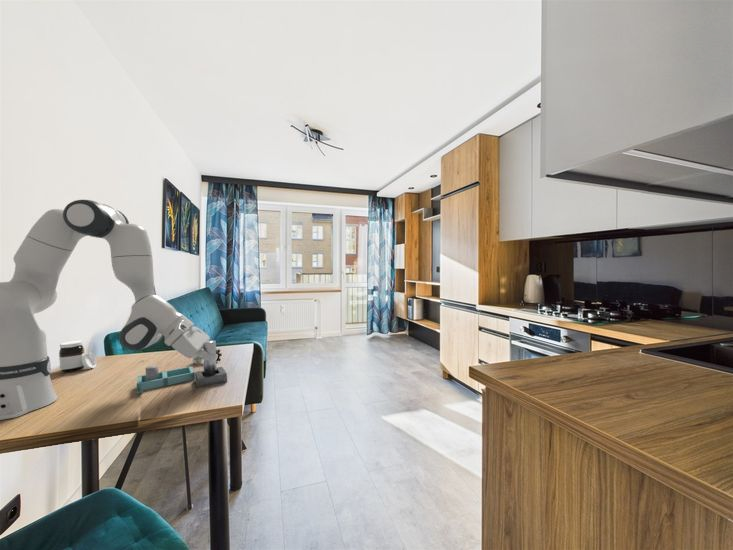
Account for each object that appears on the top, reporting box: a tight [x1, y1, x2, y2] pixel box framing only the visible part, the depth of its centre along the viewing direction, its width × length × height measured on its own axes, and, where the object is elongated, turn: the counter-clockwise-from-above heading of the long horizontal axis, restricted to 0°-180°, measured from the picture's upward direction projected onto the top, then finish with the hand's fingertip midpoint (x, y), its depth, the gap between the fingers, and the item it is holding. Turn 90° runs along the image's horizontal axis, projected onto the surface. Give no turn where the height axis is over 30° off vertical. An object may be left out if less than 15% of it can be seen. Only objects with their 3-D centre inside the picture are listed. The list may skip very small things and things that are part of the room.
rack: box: [136, 365, 196, 395], centre depth 112 cm, size 17×9×7 cm, turn 124°
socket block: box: [194, 366, 228, 389], centre depth 111 cm, size 9×9×4 cm
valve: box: [191, 348, 222, 365], centre depth 135 cm, size 7×7×12 cm
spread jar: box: [58, 340, 97, 374], centre depth 131 cm, size 12×11×12 cm
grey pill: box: [203, 340, 218, 376], centre depth 111 cm, size 4×4×12 cm
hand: (211, 356), depth 111 cm, fingers closed on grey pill, 4 cm apart
